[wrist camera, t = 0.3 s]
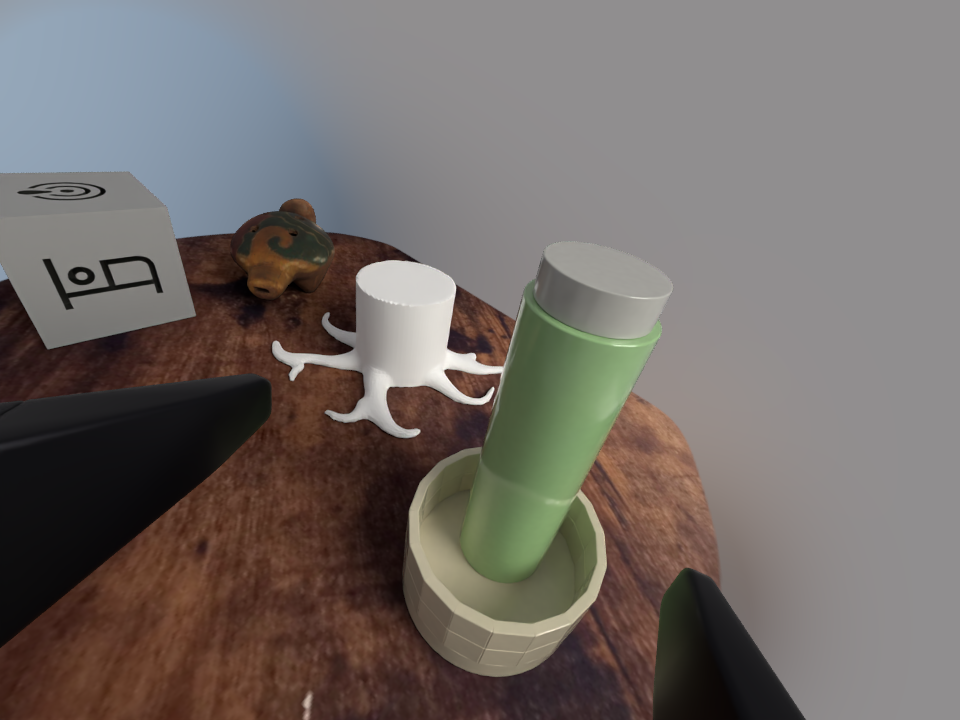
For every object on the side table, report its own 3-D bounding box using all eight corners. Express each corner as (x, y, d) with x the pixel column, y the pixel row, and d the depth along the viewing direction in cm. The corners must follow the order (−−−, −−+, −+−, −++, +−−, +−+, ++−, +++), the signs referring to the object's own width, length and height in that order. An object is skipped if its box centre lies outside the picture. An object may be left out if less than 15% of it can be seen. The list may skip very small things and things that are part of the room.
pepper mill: (531, 601, 21) (687, 321, 11) (444, 558, 22) (516, 266, 12) (551, 522, 25) (679, 265, 15) (477, 489, 26) (552, 228, 16)
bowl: (556, 720, 18) (593, 685, 15) (364, 616, 20) (365, 566, 17) (587, 535, 26) (615, 488, 23) (447, 473, 28) (457, 423, 25)
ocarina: (340, 259, 52) (341, 198, 48) (324, 327, 41) (324, 257, 36) (257, 247, 50) (250, 181, 45) (217, 317, 39) (201, 240, 34)
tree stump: (448, 300, 49) (457, 235, 44) (539, 404, 36) (566, 328, 31) (263, 317, 39) (251, 236, 34) (299, 468, 26) (287, 372, 22)
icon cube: (47, 349, 31) (-24, 219, 25) (24, 294, 35) (-41, 173, 30) (196, 316, 37) (167, 207, 32) (159, 273, 42) (128, 171, 36)
